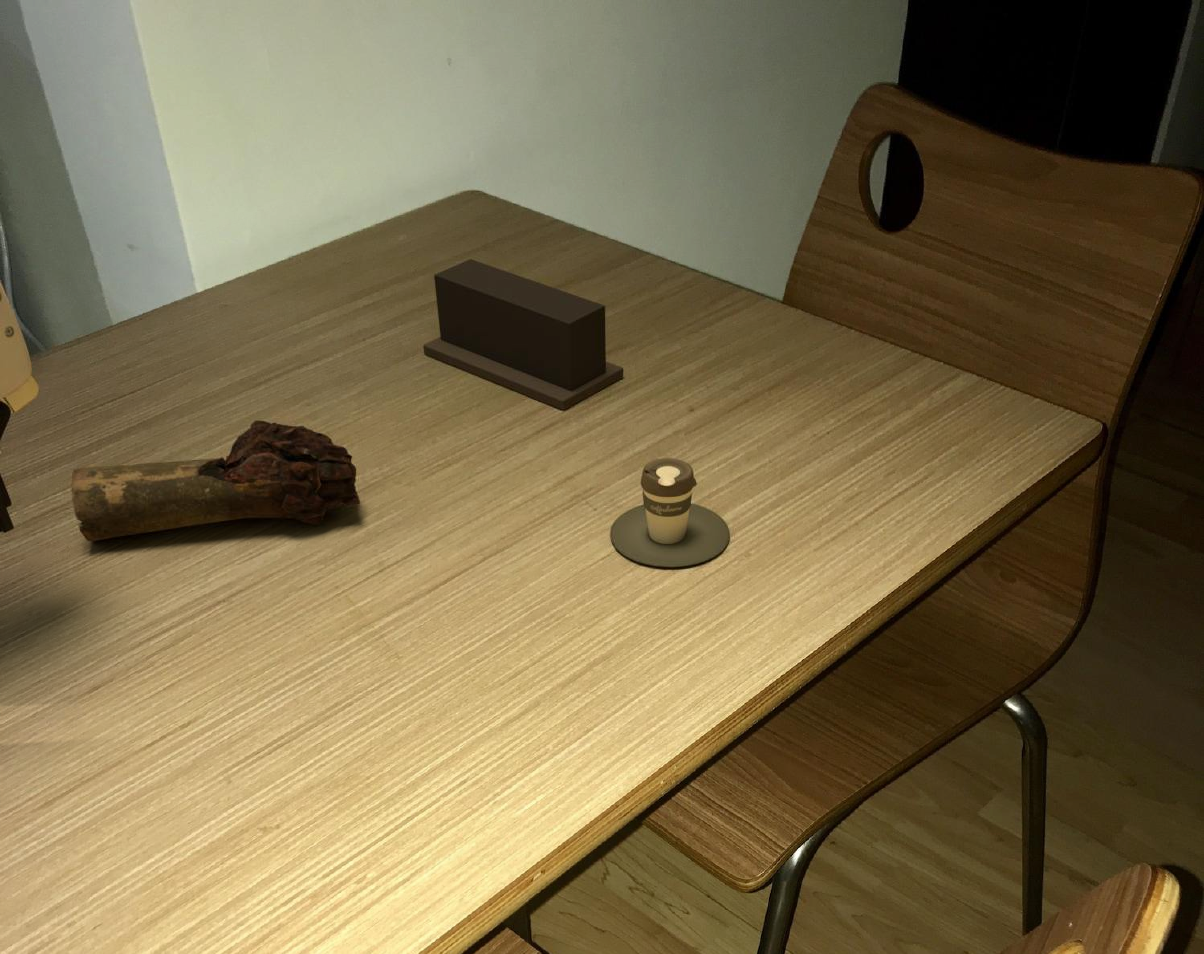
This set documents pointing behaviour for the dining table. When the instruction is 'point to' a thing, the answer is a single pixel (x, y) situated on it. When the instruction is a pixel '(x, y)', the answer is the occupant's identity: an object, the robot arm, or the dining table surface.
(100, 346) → the dining table surface
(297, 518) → the gnarled wood log
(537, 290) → the dark brown block stand
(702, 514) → the coffee cup
